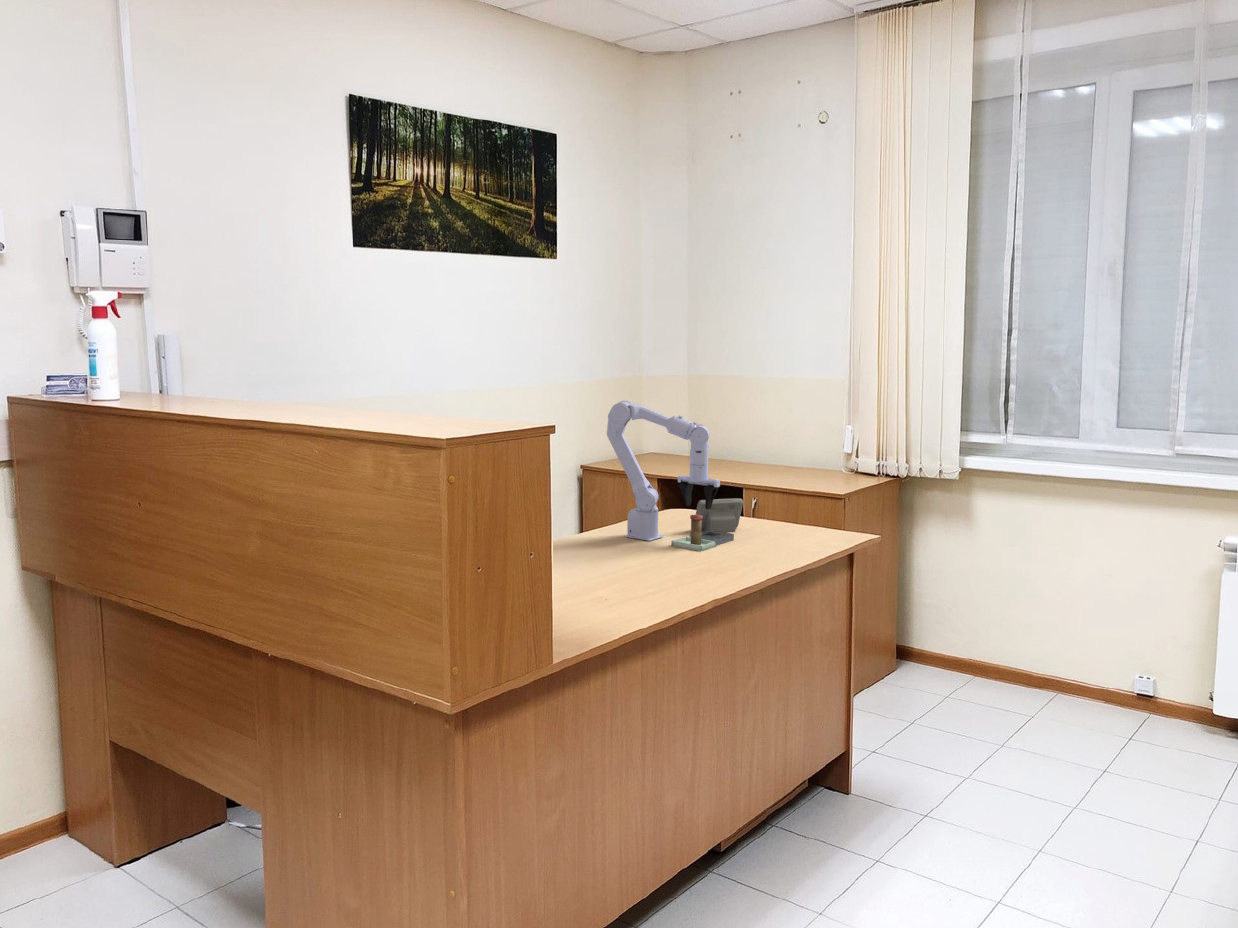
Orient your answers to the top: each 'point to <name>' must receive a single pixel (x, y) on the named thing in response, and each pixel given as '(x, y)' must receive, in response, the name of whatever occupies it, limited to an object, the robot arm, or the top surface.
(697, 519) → the pin
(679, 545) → the tray
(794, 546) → the top surface
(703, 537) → the socket plate
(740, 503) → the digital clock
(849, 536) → the top surface
